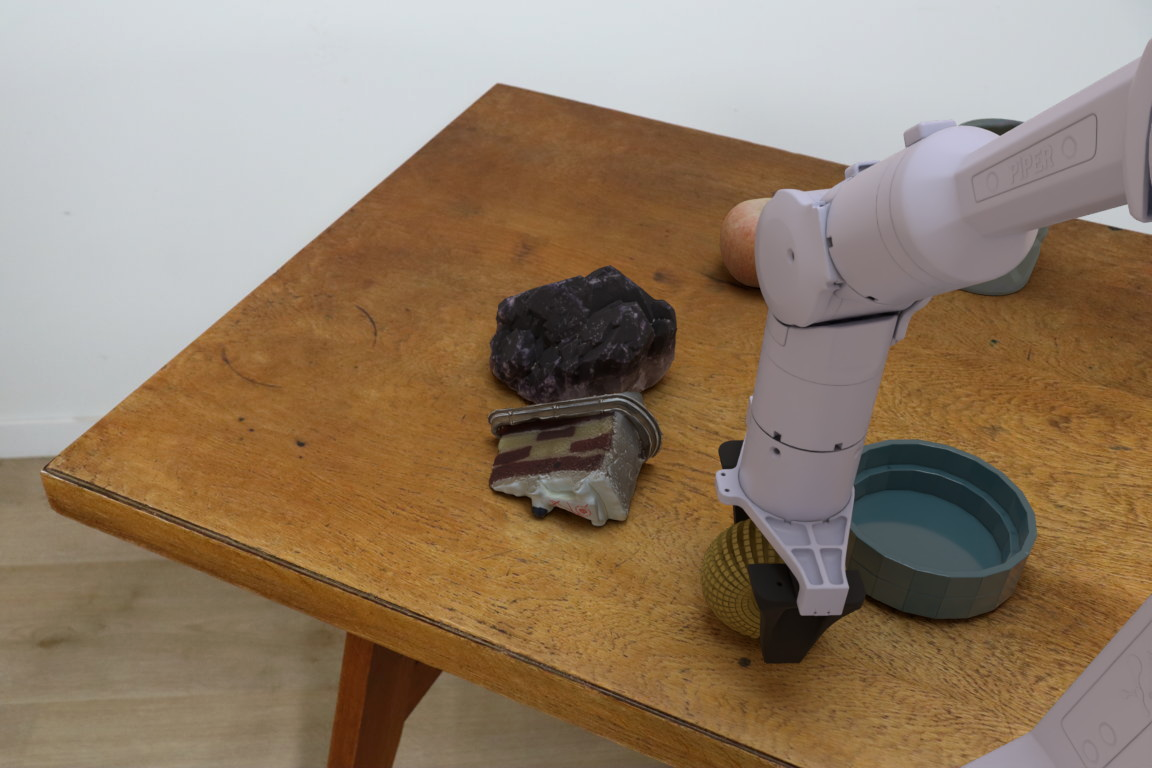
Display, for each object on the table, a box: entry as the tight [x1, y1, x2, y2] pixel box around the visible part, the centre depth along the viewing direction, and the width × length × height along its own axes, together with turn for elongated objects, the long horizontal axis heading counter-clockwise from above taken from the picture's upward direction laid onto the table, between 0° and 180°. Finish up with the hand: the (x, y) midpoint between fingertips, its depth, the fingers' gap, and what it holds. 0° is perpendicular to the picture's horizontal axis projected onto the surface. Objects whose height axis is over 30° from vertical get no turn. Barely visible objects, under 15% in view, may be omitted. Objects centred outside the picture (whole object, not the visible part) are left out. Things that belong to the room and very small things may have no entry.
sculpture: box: [699, 518, 846, 639], centre depth 61 cm, size 8×4×8 cm, turn 81°
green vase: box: [957, 117, 1050, 296], centre depth 94 cm, size 10×10×12 cm
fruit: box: [719, 190, 777, 288], centre depth 92 cm, size 8×7×8 cm
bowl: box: [845, 438, 1038, 620], centre depth 68 cm, size 12×12×4 cm
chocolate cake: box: [486, 390, 664, 527], centre depth 71 cm, size 10×7×12 cm
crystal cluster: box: [489, 264, 678, 404], centre depth 80 cm, size 13×14×10 cm
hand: (767, 603), depth 62 cm, fingers open, 7 cm apart
